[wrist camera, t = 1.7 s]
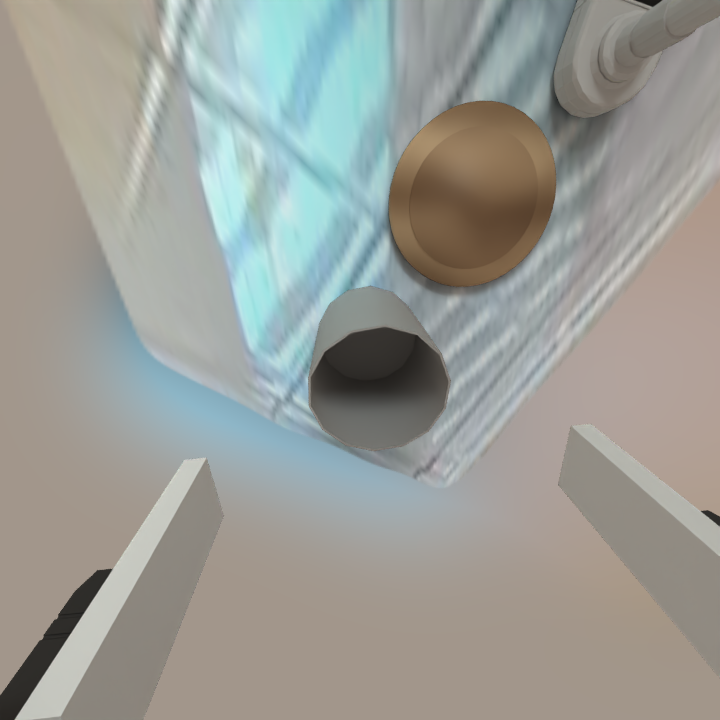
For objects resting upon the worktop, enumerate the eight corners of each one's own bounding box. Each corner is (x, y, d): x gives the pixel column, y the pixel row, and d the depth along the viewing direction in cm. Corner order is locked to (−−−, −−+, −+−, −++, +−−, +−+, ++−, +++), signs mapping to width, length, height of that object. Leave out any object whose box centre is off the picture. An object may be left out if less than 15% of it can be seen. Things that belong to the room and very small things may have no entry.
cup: (430, 302, 28) (473, 347, 19) (398, 386, 31) (422, 460, 22) (331, 275, 26) (325, 308, 17) (309, 365, 29) (294, 435, 20)
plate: (385, 111, 22) (387, 106, 21) (563, 98, 22) (572, 93, 21) (391, 290, 27) (392, 293, 26) (536, 278, 27) (543, 281, 26)
